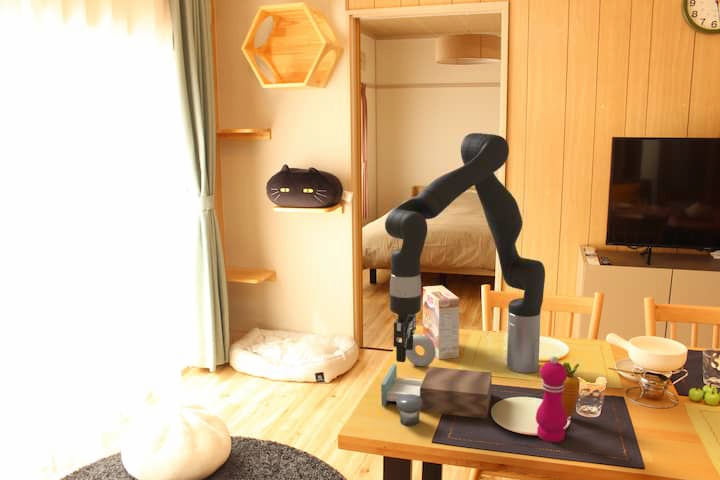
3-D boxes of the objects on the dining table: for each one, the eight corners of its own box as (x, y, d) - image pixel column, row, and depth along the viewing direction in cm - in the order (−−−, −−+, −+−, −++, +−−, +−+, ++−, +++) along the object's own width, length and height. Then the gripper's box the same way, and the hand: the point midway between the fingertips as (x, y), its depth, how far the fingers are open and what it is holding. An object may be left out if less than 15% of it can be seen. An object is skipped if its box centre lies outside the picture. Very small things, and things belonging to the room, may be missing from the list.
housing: (491, 394, 177) (491, 372, 175) (486, 418, 164) (487, 394, 162) (429, 388, 181) (429, 366, 180) (420, 411, 168) (420, 387, 167)
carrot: (578, 415, 164) (581, 359, 161) (576, 424, 160) (579, 367, 157) (558, 411, 166) (561, 356, 163) (555, 420, 162) (558, 364, 159)
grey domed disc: (424, 402, 164) (424, 395, 164) (419, 413, 158) (419, 407, 158) (399, 399, 166) (399, 393, 166) (394, 411, 160) (394, 404, 160)
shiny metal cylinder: (420, 418, 164) (420, 403, 164) (417, 427, 160) (417, 412, 159) (402, 415, 166) (402, 401, 165) (398, 424, 161) (398, 409, 160)
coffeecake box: (422, 343, 215) (422, 286, 211) (442, 341, 217) (442, 284, 213) (438, 360, 201) (438, 299, 197) (459, 357, 203) (460, 297, 199)
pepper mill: (567, 430, 157) (571, 352, 153) (566, 445, 150) (570, 364, 146) (536, 426, 159) (539, 349, 155) (534, 440, 152) (537, 360, 148)
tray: (453, 390, 179) (453, 369, 178) (446, 412, 166) (446, 390, 165) (393, 384, 184) (392, 364, 183) (381, 405, 171) (381, 384, 170)
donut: (437, 366, 196) (437, 335, 194) (433, 370, 193) (433, 339, 191) (407, 361, 201) (407, 330, 199) (402, 365, 198) (402, 334, 196)
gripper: (414, 301, 150) (413, 367, 153) (426, 285, 163) (425, 346, 166) (383, 298, 152) (383, 364, 155) (397, 283, 165) (396, 344, 168)
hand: (404, 355), depth 161 cm, fingers open, 8 cm apart
